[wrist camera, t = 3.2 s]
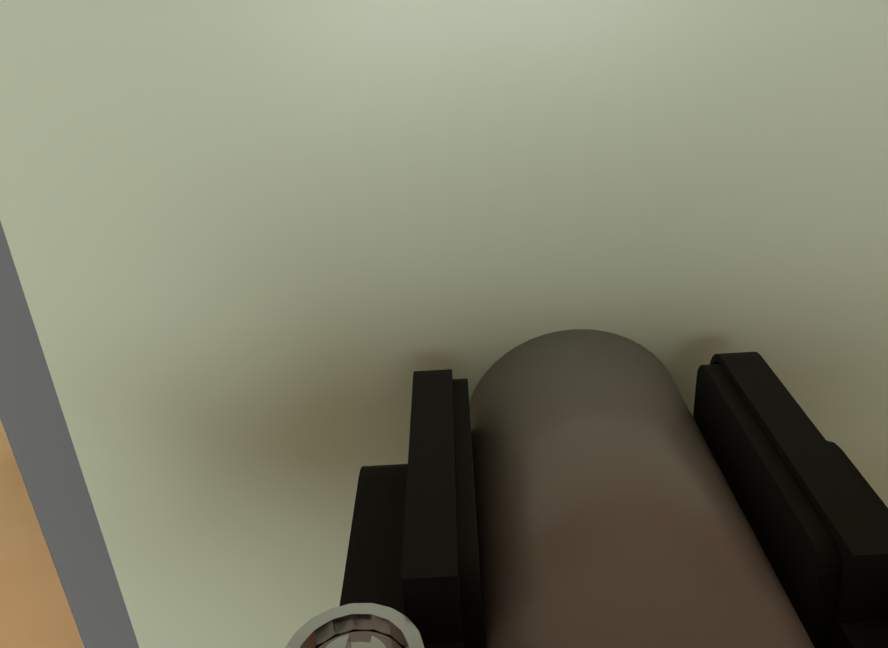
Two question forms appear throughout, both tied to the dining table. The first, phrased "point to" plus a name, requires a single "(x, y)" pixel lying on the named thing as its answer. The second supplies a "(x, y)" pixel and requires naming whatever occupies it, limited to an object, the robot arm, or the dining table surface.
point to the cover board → (446, 286)
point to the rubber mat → (55, 472)
